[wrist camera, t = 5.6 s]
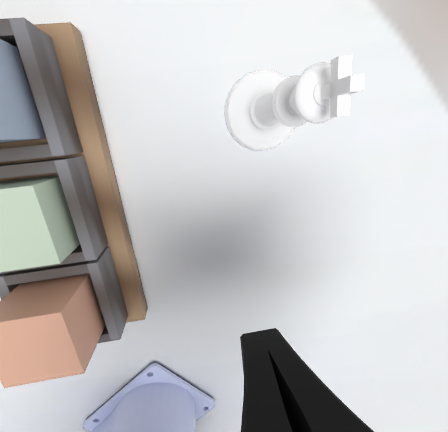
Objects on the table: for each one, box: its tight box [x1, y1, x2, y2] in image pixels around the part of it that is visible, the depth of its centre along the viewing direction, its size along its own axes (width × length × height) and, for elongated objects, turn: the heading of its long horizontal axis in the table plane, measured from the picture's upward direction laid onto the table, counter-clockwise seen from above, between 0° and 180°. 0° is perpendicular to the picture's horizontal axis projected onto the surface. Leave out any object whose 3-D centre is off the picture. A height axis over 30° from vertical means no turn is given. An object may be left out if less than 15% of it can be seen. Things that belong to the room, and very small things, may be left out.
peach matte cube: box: [0, 274, 105, 388], centre depth 14 cm, size 4×4×4 cm
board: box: [0, 18, 147, 343], centre depth 15 cm, size 19×8×4 cm, turn 6°
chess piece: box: [225, 55, 365, 151], centre depth 12 cm, size 5×5×10 cm
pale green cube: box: [0, 175, 80, 272], centre depth 13 cm, size 4×4×4 cm
